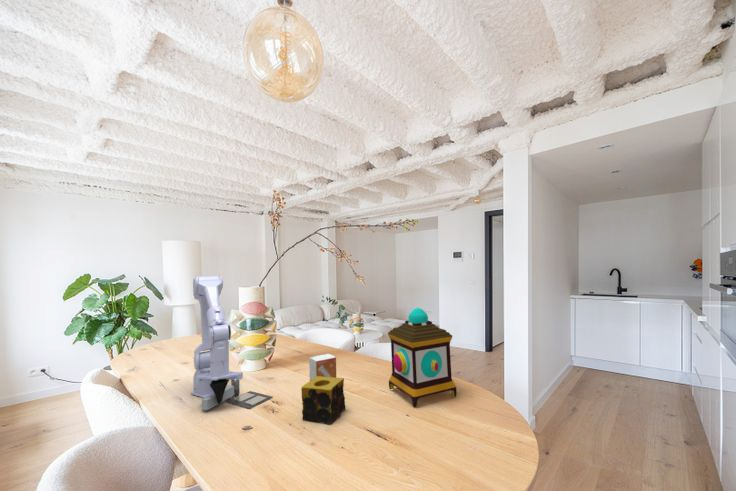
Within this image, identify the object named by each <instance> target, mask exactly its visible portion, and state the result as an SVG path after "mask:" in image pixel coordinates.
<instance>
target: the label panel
mask: <svg viewBox="0 0 736 491" xmlns="http://www.w3.org/2000/svg"><path fill="white" fill-rule="evenodd" d="M273 398H274V397H273V396H271V395H268V394H264V393H260V392H255V391H252V390H249V391H246V392H245V393H242V394H240V395H239V396H236V397H232V399H229V400H225V401H226V402H225V403H227V404H230V405H233V406H238V407H240V408H244V409H247V410H251V409H253V408H255V407H257V406H259V405H261V404H263V403H265V402H267V401H269V400H271V399H273Z"/></svg>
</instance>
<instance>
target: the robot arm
mask: <svg viewBox="0 0 736 491" xmlns="http://www.w3.org/2000/svg"><path fill="white" fill-rule="evenodd" d="M223 287H224V280H223V277H222V275H209V276H207V275H206V276H205V275H204V276H203V275H202V276H194V277H193V281H192V292H193V298H194V299H195V300H197V301H198V302H199V305H200V322H201V323H200V324H201V325H200V327H201V344H199V345H198V346H197V347H196V348H195V350H194V356H193V366H194V370H195V372H194V374H193V381H192V382H193V389H192V390H193V391H192V392H190V393H191V395H192V396H197V397H199V398H202V399H203V398H205V397H207V396H209V395H211V394H213V393H214V394H215V396H216V399H217V403H218V404H217V405H219V404H221V403H223V402H222V399H223V395H224V391H225V388H226V387H227V386H228V383H229V382H230V381H231V380H233V379H237V380H239V381H240V380H242V379H243V375H244V374H243V371H230V352H229V351H230V344H229V343H230V341H231V339H232V328H231V325H230V323H229V321H228V320H227V317H226V313H225V309H224V308H223V307H222V306H220V295H221V292H222V290H223Z"/></svg>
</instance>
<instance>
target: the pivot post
mask: <svg viewBox="0 0 736 491" xmlns="http://www.w3.org/2000/svg"><path fill="white" fill-rule="evenodd" d="M230 383H231V384H230V386H234V395H233V396H232V397H231V398H235V397H238V396H240V395H241V394H240V391H241V390H240V380H237V379H233V380H230Z"/></svg>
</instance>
